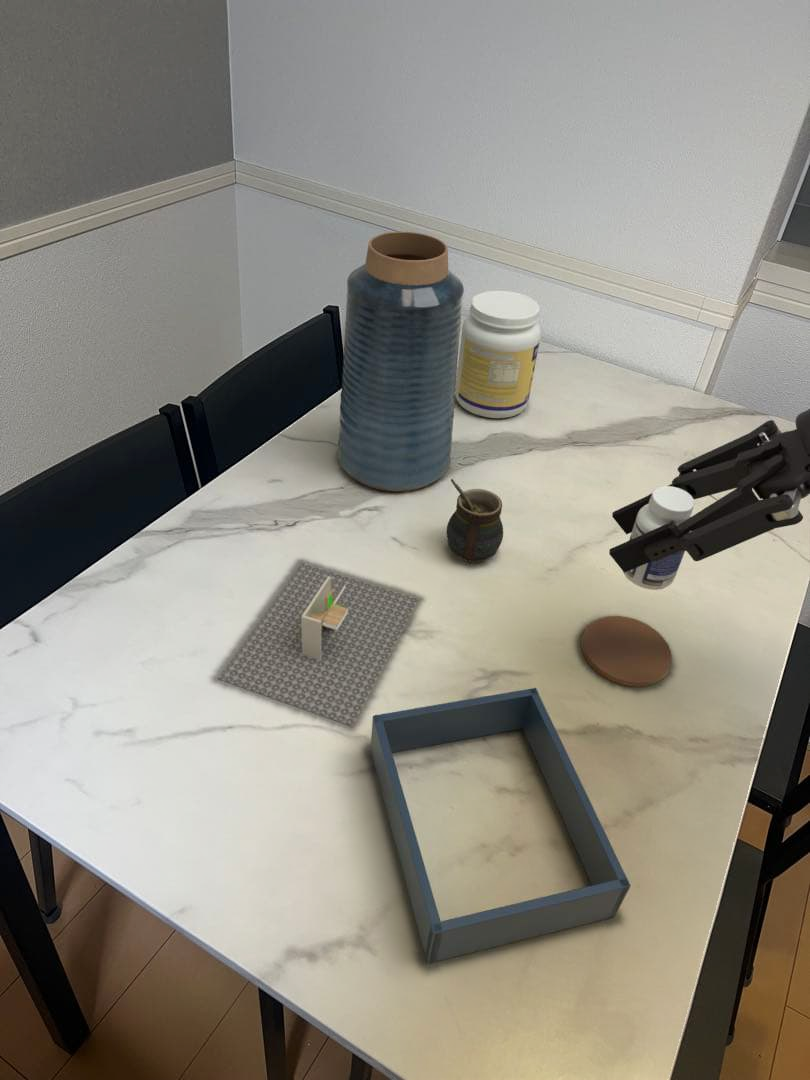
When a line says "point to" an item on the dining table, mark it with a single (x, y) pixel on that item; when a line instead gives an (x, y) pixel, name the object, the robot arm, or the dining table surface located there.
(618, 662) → the coaster
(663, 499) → the pill bottle
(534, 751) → the blue bottomless tray frame
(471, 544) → the mate gourd
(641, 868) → the dining table surface
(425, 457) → the vase
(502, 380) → the supplement tub
